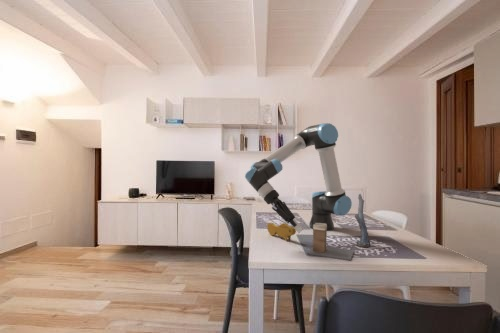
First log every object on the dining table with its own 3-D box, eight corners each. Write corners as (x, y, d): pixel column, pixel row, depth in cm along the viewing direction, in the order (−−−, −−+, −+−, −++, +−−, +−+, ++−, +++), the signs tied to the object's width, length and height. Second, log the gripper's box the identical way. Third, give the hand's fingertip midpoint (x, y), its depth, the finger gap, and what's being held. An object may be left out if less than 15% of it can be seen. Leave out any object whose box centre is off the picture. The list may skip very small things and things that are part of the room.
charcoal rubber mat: (315, 246, 136) (315, 244, 136) (354, 251, 128) (354, 250, 128) (307, 254, 123) (307, 252, 123) (350, 260, 115) (350, 259, 115)
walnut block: (315, 248, 130) (315, 222, 130) (326, 249, 128) (326, 223, 128) (313, 251, 126) (313, 224, 126) (324, 252, 124) (324, 226, 124)
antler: (372, 248, 133) (372, 196, 133) (354, 247, 135) (355, 195, 135) (367, 241, 144) (368, 193, 144) (351, 240, 146) (352, 193, 146)
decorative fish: (298, 240, 141) (295, 220, 143) (293, 241, 139) (290, 221, 141) (272, 240, 159) (270, 222, 161) (267, 241, 157) (265, 223, 159)
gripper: (268, 197, 145) (299, 233, 138) (258, 200, 134) (291, 239, 126) (278, 187, 143) (310, 223, 135) (268, 189, 131) (302, 229, 124)
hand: (301, 231), depth 131 cm, fingers closed
